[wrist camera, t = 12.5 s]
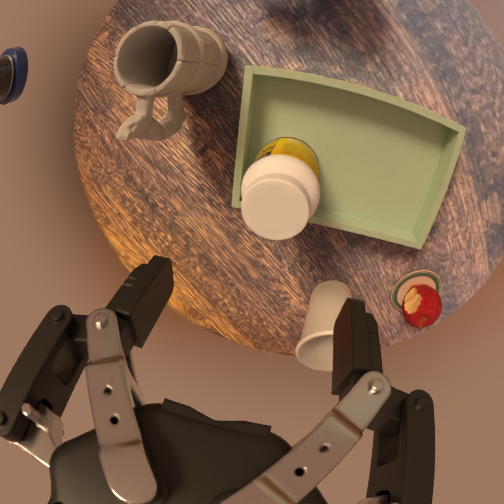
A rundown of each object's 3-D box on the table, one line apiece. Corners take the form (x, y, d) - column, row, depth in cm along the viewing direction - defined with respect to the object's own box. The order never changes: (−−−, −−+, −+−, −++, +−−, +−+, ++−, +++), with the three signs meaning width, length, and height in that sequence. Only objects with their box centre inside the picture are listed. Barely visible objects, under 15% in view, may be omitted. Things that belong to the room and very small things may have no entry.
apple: (385, 310, 37) (391, 345, 31) (395, 268, 32) (406, 303, 27) (431, 308, 35) (442, 341, 29) (446, 267, 30) (462, 300, 25)
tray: (238, 194, 31) (231, 207, 28) (252, 66, 22) (245, 65, 20) (413, 234, 29) (420, 250, 26) (452, 122, 20) (466, 128, 18)
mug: (238, 31, 20) (189, 4, 11) (217, 134, 27) (163, 170, 18) (170, 27, 20) (97, 14, 11) (155, 124, 28) (85, 155, 18)
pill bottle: (273, 124, 25) (250, 151, 16) (329, 152, 25) (338, 195, 17) (249, 175, 29) (218, 226, 20) (301, 200, 29) (294, 262, 20)
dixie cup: (291, 301, 39) (282, 358, 31) (323, 262, 34) (322, 323, 26) (337, 322, 40) (336, 378, 32) (372, 288, 35) (381, 348, 27)
